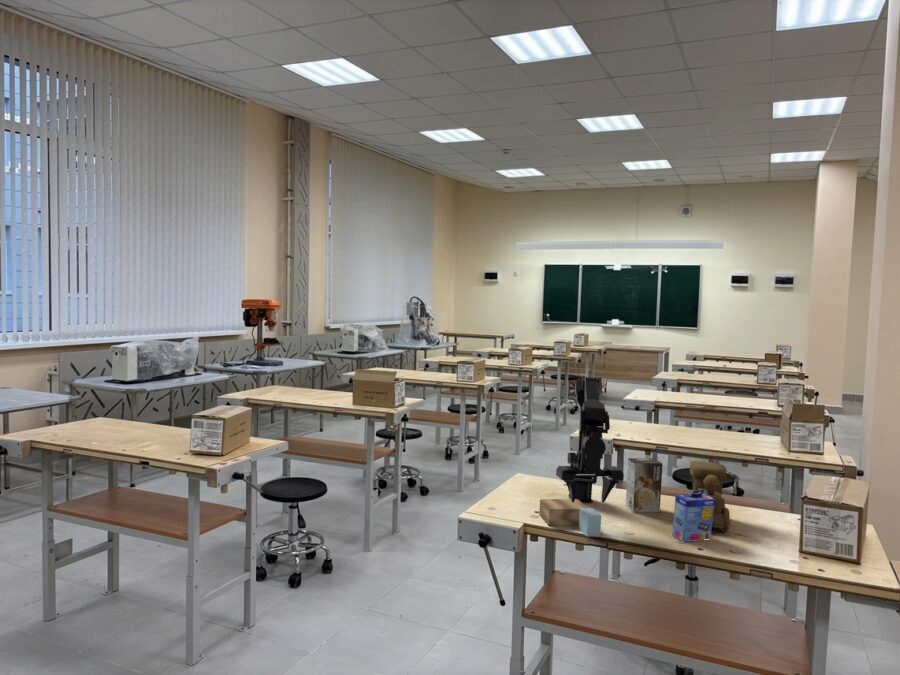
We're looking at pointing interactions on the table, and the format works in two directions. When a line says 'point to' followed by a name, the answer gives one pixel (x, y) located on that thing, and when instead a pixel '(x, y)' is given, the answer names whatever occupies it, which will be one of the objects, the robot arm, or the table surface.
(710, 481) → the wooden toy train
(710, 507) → the ink cartridge box
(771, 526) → the table surface
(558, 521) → the brown wooden block
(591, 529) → the block
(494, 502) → the table surface
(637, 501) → the coffee box
